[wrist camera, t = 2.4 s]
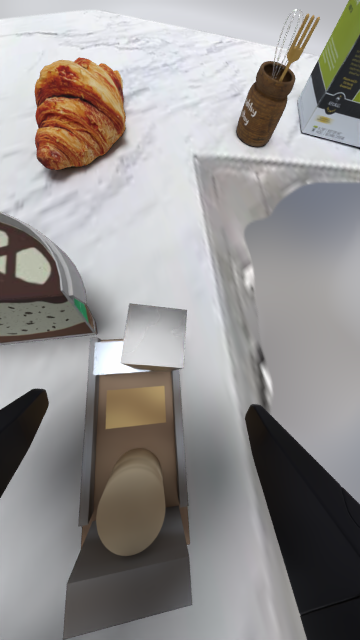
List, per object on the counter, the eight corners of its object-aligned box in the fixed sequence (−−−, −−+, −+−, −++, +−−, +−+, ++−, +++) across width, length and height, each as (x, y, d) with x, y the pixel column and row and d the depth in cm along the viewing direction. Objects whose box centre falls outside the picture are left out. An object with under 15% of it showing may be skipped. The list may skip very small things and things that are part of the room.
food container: (109, 278, 21) (73, 195, 11) (112, 332, 19) (73, 289, 10) (-21, 286, 19) (-202, 192, 9) (-30, 348, 17) (-262, 313, 7)
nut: (163, 503, 15) (167, 547, 11) (109, 512, 14) (94, 563, 10) (161, 445, 16) (163, 466, 12) (111, 451, 15) (98, 476, 11)
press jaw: (168, 372, 17) (191, 367, 7) (103, 377, 16) (27, 378, 6) (167, 343, 18) (186, 302, 8) (104, 346, 17) (38, 304, 7)
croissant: (106, 116, 33) (69, 40, 26) (155, 96, 29) (126, 0, 22) (47, 199, 26) (-26, 124, 19) (101, 187, 22) (34, 88, 15)
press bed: (187, 531, 15) (205, 614, 10) (85, 552, 14) (45, 659, 9) (174, 339, 20) (183, 325, 14) (96, 342, 19) (74, 329, 13)
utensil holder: (266, 127, 33) (326, -5, 22) (270, 152, 31) (339, 23, 20) (234, 120, 32) (279, -20, 21) (236, 146, 30) (287, 7, 19)
